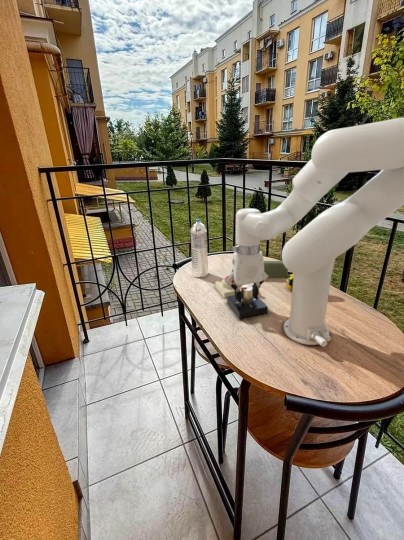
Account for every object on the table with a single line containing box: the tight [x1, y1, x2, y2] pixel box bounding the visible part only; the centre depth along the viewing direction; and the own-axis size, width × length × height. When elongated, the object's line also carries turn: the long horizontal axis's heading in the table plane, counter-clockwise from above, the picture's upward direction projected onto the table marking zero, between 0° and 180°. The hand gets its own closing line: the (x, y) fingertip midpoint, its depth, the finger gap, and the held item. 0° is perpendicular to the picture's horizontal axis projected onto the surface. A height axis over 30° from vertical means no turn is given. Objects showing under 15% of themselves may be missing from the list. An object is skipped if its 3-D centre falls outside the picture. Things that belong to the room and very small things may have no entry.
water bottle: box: [189, 218, 209, 278], centre depth 119 cm, size 7×7×25 cm
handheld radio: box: [264, 260, 293, 278], centre depth 119 cm, size 7×3×25 cm
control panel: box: [226, 295, 269, 321], centre depth 95 cm, size 11×10×3 cm
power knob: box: [241, 284, 253, 304], centre depth 94 cm, size 4×4×5 cm
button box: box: [214, 277, 244, 299], centre depth 108 cm, size 10×9×4 cm
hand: (246, 298), depth 94 cm, fingers open, 5 cm apart
